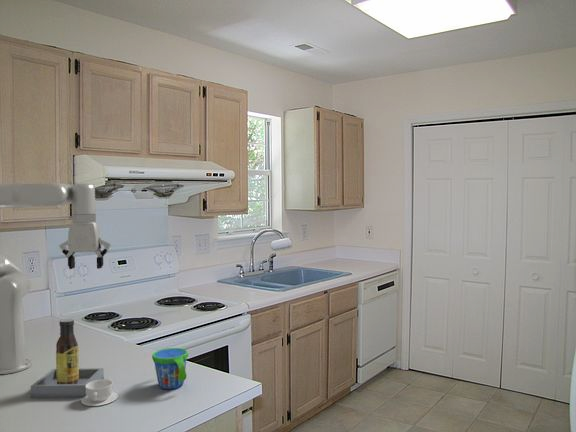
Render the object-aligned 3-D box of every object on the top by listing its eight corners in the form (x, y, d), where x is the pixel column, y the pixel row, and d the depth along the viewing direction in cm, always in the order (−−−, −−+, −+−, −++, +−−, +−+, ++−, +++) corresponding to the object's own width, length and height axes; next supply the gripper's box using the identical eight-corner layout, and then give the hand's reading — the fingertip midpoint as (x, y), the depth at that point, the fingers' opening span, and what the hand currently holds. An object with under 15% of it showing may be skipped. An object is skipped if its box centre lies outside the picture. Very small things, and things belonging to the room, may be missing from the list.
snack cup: (146, 381, 157) (145, 349, 156) (178, 374, 163) (177, 343, 162) (163, 398, 144) (162, 363, 143) (197, 389, 150) (196, 356, 149)
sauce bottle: (70, 389, 149) (68, 323, 148) (52, 388, 150) (49, 322, 149) (83, 381, 155) (81, 318, 154) (65, 379, 156) (63, 317, 155)
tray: (31, 397, 145) (30, 386, 145) (53, 379, 159) (53, 368, 159) (86, 397, 145) (85, 385, 145) (103, 378, 159) (103, 368, 159)
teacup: (86, 394, 148) (86, 378, 148) (121, 392, 149) (120, 376, 149) (76, 408, 138) (75, 392, 138) (113, 406, 139) (113, 390, 139)
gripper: (54, 220, 169) (56, 270, 170) (105, 219, 169) (106, 269, 170) (64, 218, 176) (66, 267, 177) (112, 218, 176) (114, 266, 177)
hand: (85, 268), depth 173 cm, fingers open, 9 cm apart
